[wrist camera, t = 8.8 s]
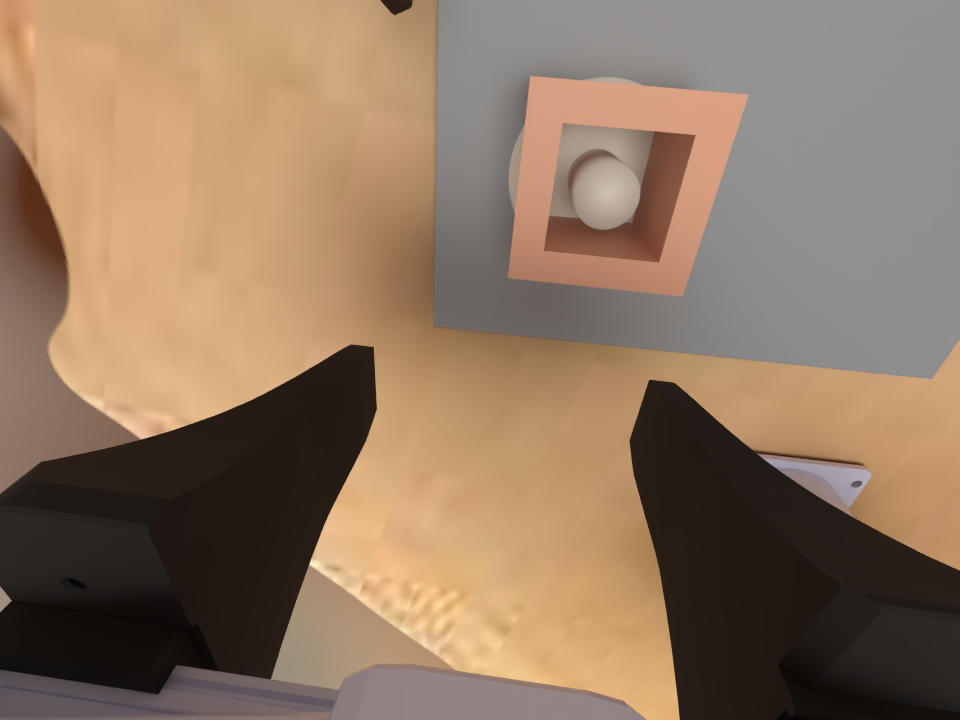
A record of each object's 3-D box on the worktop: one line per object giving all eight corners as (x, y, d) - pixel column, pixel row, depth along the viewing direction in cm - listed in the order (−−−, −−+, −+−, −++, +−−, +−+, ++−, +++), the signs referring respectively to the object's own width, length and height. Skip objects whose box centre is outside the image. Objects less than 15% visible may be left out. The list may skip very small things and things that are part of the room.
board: (912, 364, 21) (1001, 431, 17) (438, 315, 22) (417, 366, 18) (1171, -30, 14) (1431, -75, 10) (446, -75, 15) (413, -131, 11)
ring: (651, 251, 18) (682, 296, 14) (513, 237, 19) (507, 278, 15) (695, 91, 15) (748, 94, 12) (530, 77, 16) (530, 75, 12)
